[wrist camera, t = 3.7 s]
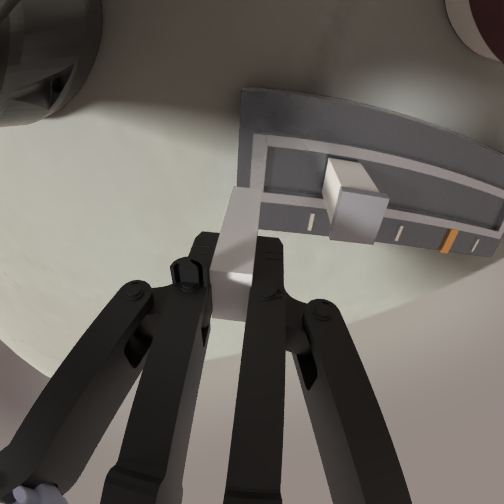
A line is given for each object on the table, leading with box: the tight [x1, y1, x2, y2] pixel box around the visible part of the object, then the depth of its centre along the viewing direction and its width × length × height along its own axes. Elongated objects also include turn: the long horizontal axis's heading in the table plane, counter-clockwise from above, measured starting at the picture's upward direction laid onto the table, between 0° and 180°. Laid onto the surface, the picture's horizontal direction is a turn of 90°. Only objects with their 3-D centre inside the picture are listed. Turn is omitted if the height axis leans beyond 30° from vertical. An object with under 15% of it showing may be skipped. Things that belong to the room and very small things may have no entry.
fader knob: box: [322, 158, 389, 245], centre depth 17 cm, size 3×3×6 cm
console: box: [237, 87, 504, 257], centre depth 20 cm, size 28×11×3 cm, turn 86°
